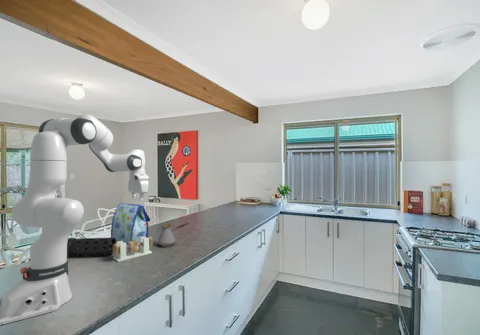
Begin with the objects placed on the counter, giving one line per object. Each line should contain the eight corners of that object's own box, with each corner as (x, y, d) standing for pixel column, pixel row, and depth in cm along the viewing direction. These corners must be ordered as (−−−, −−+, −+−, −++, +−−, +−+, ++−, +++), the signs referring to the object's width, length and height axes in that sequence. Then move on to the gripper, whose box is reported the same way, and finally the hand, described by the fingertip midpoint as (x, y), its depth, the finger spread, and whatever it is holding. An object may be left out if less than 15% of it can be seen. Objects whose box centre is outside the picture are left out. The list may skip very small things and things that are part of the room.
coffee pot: (154, 247, 157) (154, 223, 158) (163, 242, 169) (162, 219, 169) (186, 249, 154) (185, 224, 154) (193, 243, 165) (192, 220, 165)
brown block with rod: (116, 256, 133) (116, 245, 133) (112, 253, 138) (112, 242, 138) (152, 247, 148) (152, 237, 148) (148, 245, 152) (148, 235, 152)
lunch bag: (152, 241, 170) (151, 203, 171) (131, 248, 156) (131, 206, 156) (130, 237, 181) (129, 201, 181) (108, 243, 166) (108, 204, 166)
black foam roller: (109, 258, 140) (109, 239, 140) (57, 259, 138) (57, 241, 138) (116, 252, 149) (116, 235, 149) (68, 253, 148) (68, 236, 148)
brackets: (118, 261, 134) (117, 244, 134) (113, 258, 139) (113, 242, 139) (152, 253, 147) (151, 237, 147) (146, 250, 152) (146, 235, 152)
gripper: (125, 176, 153) (125, 199, 153) (139, 177, 138) (139, 202, 138) (135, 176, 157) (135, 198, 157) (150, 176, 143) (150, 201, 143)
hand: (137, 200), depth 148 cm, fingers open, 8 cm apart
